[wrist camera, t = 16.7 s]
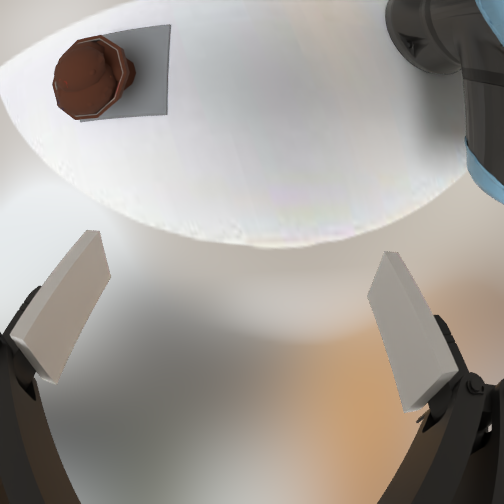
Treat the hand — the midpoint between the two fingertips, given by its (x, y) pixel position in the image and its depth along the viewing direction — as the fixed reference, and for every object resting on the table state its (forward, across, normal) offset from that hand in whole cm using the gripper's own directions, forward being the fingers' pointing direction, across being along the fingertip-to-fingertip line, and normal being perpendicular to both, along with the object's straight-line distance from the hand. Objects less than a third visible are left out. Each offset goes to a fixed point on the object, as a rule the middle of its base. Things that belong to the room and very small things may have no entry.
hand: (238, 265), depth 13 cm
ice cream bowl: (+31, -20, +9) cm, 38 cm away
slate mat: (+31, -20, +9) cm, 38 cm away
